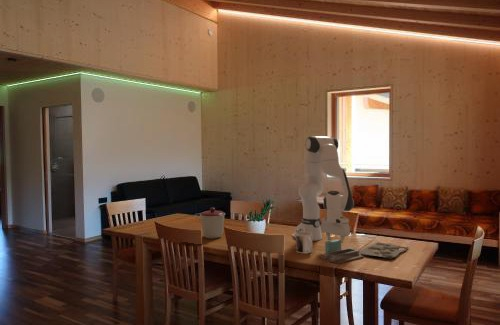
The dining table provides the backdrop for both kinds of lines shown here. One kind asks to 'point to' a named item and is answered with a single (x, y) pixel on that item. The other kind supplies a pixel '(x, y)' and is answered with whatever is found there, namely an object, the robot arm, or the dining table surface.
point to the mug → (304, 242)
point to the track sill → (342, 255)
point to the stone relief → (383, 250)
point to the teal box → (332, 246)
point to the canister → (212, 223)
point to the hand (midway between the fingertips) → (335, 241)
